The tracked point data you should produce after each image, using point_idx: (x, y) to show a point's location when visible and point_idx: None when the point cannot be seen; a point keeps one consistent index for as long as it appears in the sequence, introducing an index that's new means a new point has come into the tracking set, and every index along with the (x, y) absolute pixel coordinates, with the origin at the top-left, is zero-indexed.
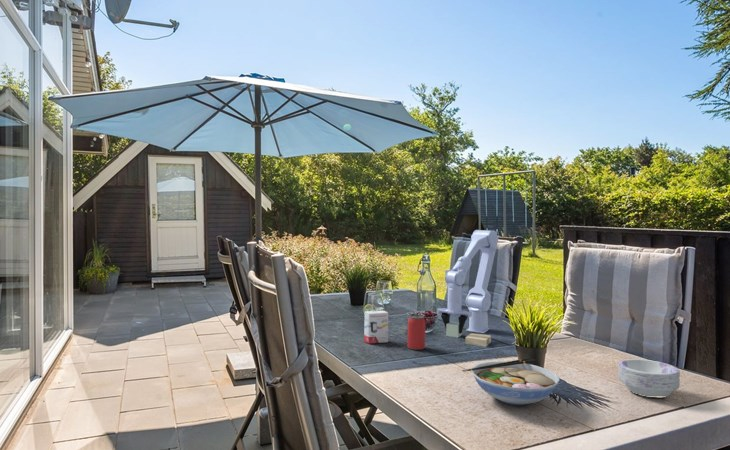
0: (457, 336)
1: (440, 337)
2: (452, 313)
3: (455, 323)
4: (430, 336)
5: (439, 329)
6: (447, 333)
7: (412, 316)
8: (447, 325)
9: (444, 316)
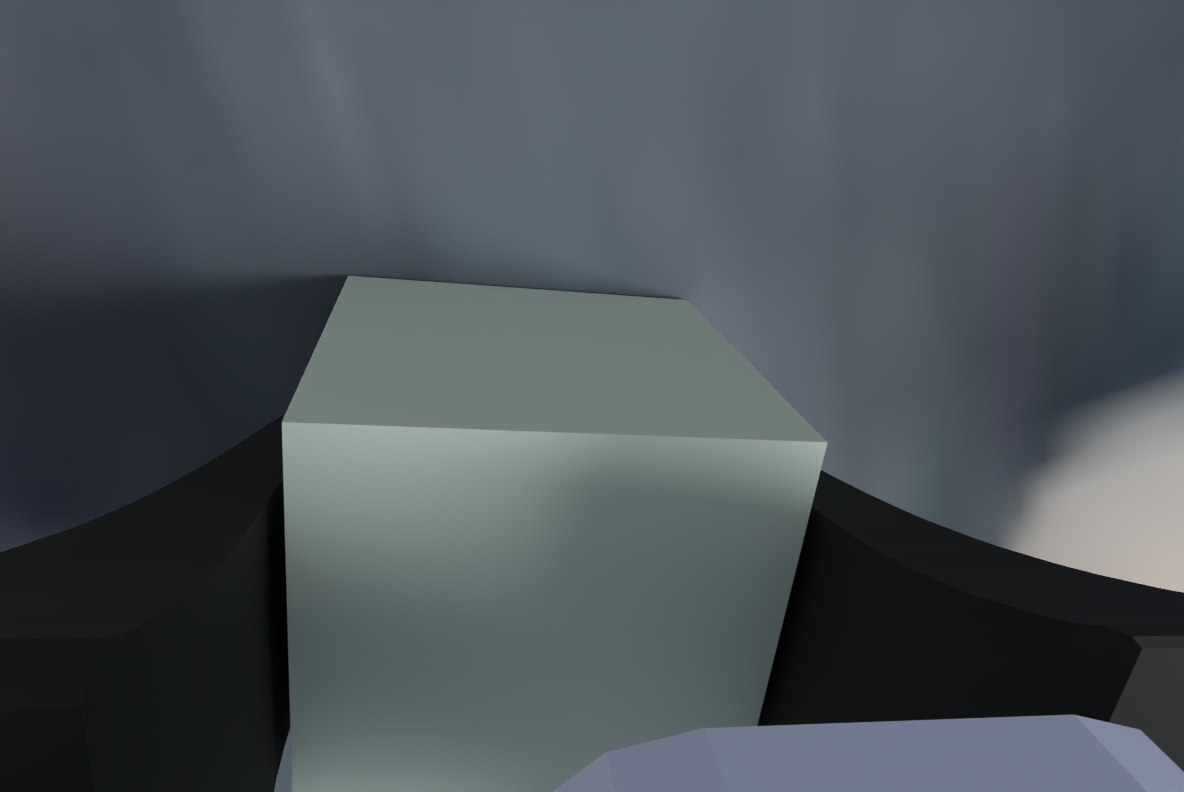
0: (357, 286)
1: (809, 80)
2: (708, 734)
3: (504, 699)
4: (1075, 66)
5: None
6: (671, 317)
7: None
8: (761, 417)
9: (1169, 625)
